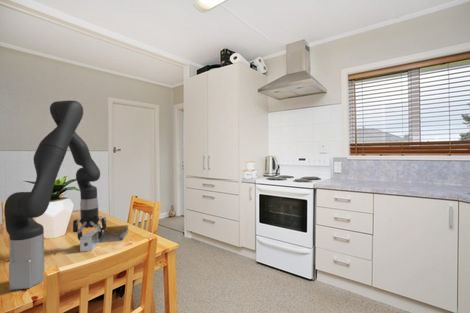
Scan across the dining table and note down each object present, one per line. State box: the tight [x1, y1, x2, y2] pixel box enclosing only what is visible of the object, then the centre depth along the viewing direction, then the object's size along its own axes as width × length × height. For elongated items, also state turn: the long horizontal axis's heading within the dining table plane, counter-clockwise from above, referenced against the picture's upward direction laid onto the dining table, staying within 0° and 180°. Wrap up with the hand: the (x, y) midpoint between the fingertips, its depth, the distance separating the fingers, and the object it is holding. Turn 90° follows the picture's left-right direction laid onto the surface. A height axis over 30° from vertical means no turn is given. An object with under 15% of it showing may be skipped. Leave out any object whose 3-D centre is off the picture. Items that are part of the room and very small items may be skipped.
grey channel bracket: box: [99, 224, 129, 244], centre depth 127 cm, size 14×13×4 cm
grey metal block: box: [79, 229, 100, 253], centre depth 114 cm, size 10×5×7 cm, turn 13°
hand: (90, 239), depth 114 cm, fingers open, 8 cm apart
